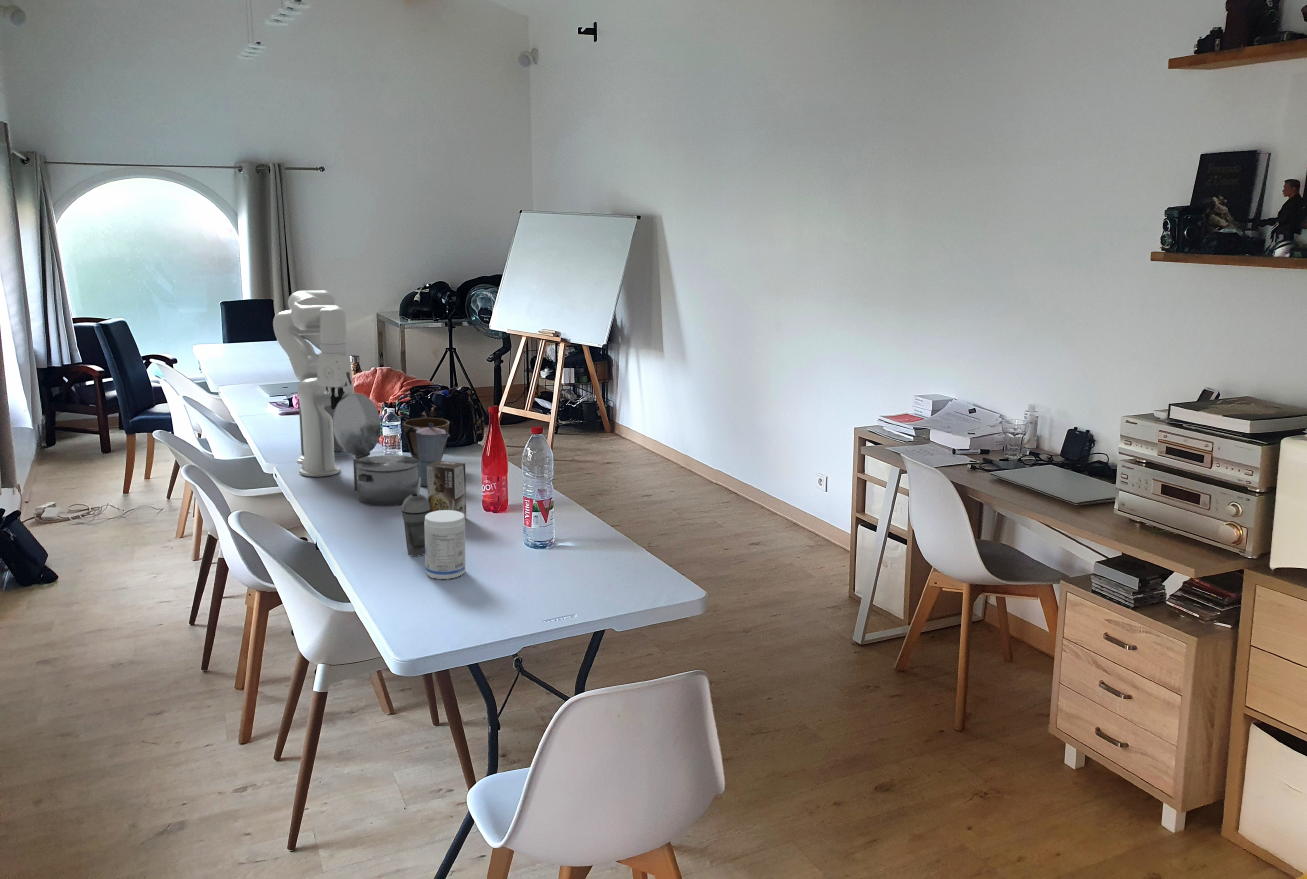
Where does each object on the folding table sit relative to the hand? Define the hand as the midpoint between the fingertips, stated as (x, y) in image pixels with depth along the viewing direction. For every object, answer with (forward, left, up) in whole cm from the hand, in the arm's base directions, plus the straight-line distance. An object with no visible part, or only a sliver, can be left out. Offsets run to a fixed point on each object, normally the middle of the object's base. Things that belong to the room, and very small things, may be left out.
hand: (336, 408), depth 293 cm
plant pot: (+7, +34, -26) cm, 43 cm away
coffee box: (+47, -8, -26) cm, 54 cm away
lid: (+8, 0, -4) cm, 10 cm away
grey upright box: (-39, +33, -26) cm, 57 cm away
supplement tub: (+73, -43, -26) cm, 88 cm away
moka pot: (+19, +19, -26) cm, 37 cm away
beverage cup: (+58, -35, -26) cm, 72 cm away
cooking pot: (+19, 0, -25) cm, 32 cm away
